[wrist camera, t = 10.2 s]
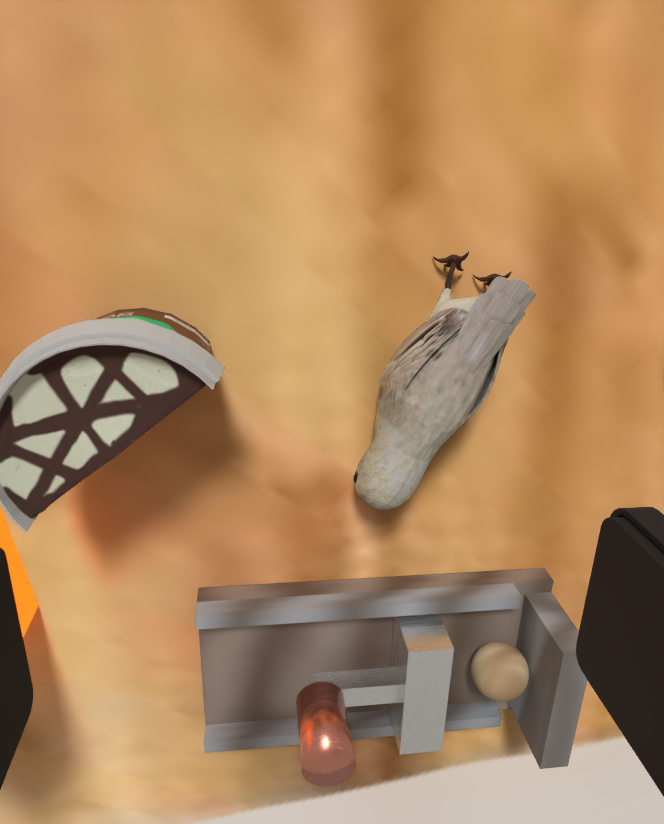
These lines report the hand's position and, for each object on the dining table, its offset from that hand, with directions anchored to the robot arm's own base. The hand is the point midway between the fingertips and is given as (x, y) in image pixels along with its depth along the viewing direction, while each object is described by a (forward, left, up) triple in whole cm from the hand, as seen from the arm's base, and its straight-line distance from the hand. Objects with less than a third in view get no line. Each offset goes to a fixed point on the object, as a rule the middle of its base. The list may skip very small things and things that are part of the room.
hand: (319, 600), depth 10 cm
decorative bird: (-9, +6, -29) cm, 31 cm away
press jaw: (-6, +27, -26) cm, 38 cm away
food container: (+9, +4, -29) cm, 30 cm away
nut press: (-8, +27, -28) cm, 40 cm away
